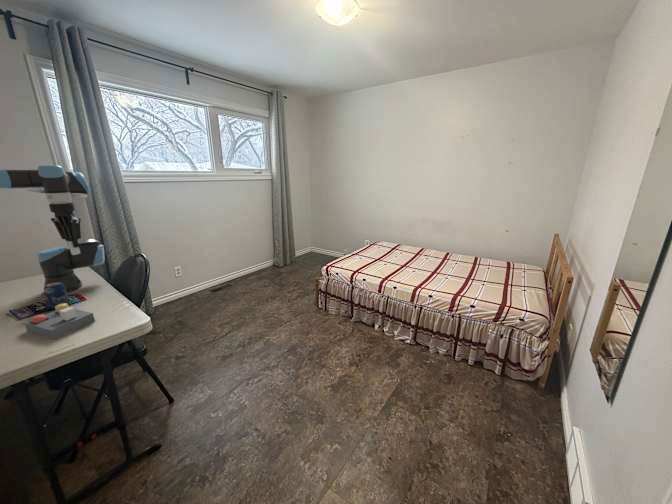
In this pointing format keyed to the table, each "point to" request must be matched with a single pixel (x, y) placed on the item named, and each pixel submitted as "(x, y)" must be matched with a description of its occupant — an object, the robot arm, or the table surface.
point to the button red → (38, 319)
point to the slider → (68, 313)
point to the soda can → (56, 294)
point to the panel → (59, 324)
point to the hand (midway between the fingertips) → (76, 253)
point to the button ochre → (61, 307)
